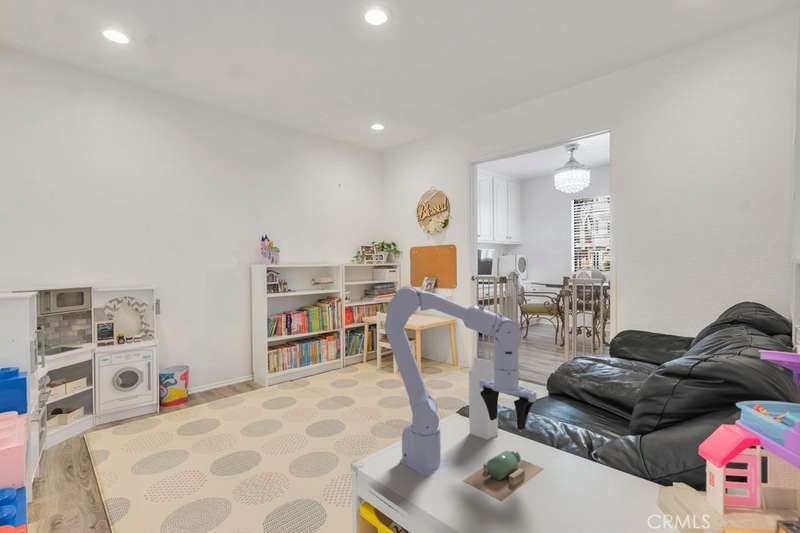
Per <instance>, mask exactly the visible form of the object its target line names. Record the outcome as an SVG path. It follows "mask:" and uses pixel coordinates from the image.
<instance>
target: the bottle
mask: <svg viewBox="0 0 800 533" xmlns="http://www.w3.org/2000/svg"><path fill="white" fill-rule="evenodd" d="M520 459H521V455H520V453H519V452H517V451H516V450H512V451H509V450H504V451H503V452H501V453H499V454H497V455H496V456H494V457H492V458H491V459H489V460H488V463H487V469H488V472H489V474H490V475H491V477H492V478H494V479H495V480H501V479H503V478H504V477H506V476H507V475H509V474H510V473H512V472H513V471H515V470H516V469H517V467H518V463H519V462H520Z"/></svg>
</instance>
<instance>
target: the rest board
mask: <svg viewBox="0 0 800 533" xmlns="http://www.w3.org/2000/svg"><path fill="white" fill-rule="evenodd" d="M488 461H489V460H488ZM488 461H486V462H484V463H483V468H481V469H479V470H477V471H476V472H474V473H473V474H471V475H469V476H468V477H466V478H465V479H463V480H462V481H463V482H464V483H466V484H468V485H470V486H472V487H473V488H476V489H477V490H479V491H481V492H483V493H485V494H487V495H489V496H490V497H492V498H494V499H497V500H499V501H500V502H502V501H504V500H505V499H506V498H508V497H509V496H511V494H513V493H514V492H515V491H517V490H518V489H519V488H520V487H522V486H523V485H525V484H526V483H527V482H528V481H530V480H531V479H532V478H534V477H536V476H537V475H538V474H539V473H540V472H542V471H543V470H544V469H545V468H543V467H541V466H538V465H536V464H534V463H531V462H529V461H527V460H524V459H520V462H519V463H518V467H517V469H516V470H515V471H513V472H512V473H510V474H509V475H507V476H506V477H504V478H503V479H501V480H495V479H494V478H492V477H491V475H490V474H489V472H488V469H487V463H488Z"/></svg>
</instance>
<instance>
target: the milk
mask: <svg viewBox="0 0 800 533" xmlns="http://www.w3.org/2000/svg"><path fill="white" fill-rule="evenodd" d="M482 379H487V380H494V365H493V360H490V359H485V358H479V357H474V358H473V363H472V365H471V366H470V368H469V369H468V404H469V405H468V406H469V412H468V414H469V417H468V418H469V419H468V420H469V424H468V425H469V434H470V435H473V436H475V437H477V438H481V439H484V440H487V441H488V440H490V439H491V438H495V437H497V436H498V435H499V412H498V413H497V419H495V420H493V421H492V420H490V417H489V413H488V409H487V406H486V404H485V402H484V400H483V398H482V396H481V394H480V392H481V391H483V389H482V388H480V380H482ZM498 407H499V404H497V410H498V411H499V409H498Z"/></svg>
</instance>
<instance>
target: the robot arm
mask: <svg viewBox="0 0 800 533" xmlns="http://www.w3.org/2000/svg"><path fill="white" fill-rule="evenodd" d="M419 307H420V312H424V311H428V310H435V311H437V312H441V313H443V314H447V315H449V316H452V317H454V318H456V319H460V320H462V322H463V325H464V326H465V327H466V328H468V329H470V330H472V331H474V332H478V333H480V334H482V335H485V336H487V337H494V340H493V341H494V343H493V344H494V347H493V367H494V380H487V379H482V380H480V388H482V389H483V391H481V392H480V394H481V396H482V398H483V400H484V402H485V404H486V406H487V409H488V413H489V417H490V420H492V421H493V420H495V419H497V413H498V414H499V409H498V410H497V404H498V402H499V396H500V393H501V394H503V395H504V394H505V395H508V396H510V397H511V396H512V397H515V398H518V399H516V400H514V401H513V403H514V404H513V405H514V407H515V408H514V409H515V411H516V427H517V430H518V431H522V430H523V429H525V428H526V422H527V420H528V416H529V414H530V413H529V412H530V411H531V409H532V407H533V405H534V403H535V402H536V401H537V391H534V390H531V389H528V388H526V387H524V386H521V385H519V382H520V380H519V376H520V370H519V368H520V366H519V348H518V346H519V344H518V343H519V341H520V339H521V337H522V331H521V329H520V325H519V324H517V323H516V321H514V320H512V319H510V318H508V317H507V316H504V314H502V313H500V312H498V313H495V312H493V311H490V310H487V309H485V306H483V305H482V304H478V306H477V305H475V304H474V305H471V306H468V307H465V306H463V305H461V304H459V303H456V302H454V301H452V300H449V299H447V298H445V297H443V296H441V295H438V294H436V293H433V292H431V291H428V290H423V289H419V288H418V289H415V288H414V287H412V286H410V285H409V286H406V285H405V286H402V287H400V288H399V289H398V290H397V291H396V292H395V294H394V295H393V297H392V298H391V299H390V301H389V303H388V308H387V312H386V316H385V321H384V325H383V327H384V328H383V329H384V332H385V335H386V338H387V340H388V343H389V346H390V348H391V351H392V355H393V358H394V359H395V362H396V365H397V368H398V370H399V373H400V376H401V379H402V382H403V384H404V387H405V390H406V392H407V397H408V400H409V406H410V410H411V412H412V417H411V418H412V420H411V422H410V423H408V424H407V425H406V426H405V427H404V429H403V430H402V434H401V457H402V458H401V459H399V463H400V464H404V465H406V466H407V467H410V468H412V469H413V470H414V471H417V472H419V473H421V474H422V475H424V476H429V475H431V474H433V473H434V472H436V471H437V470H440V469H441V468H442V469H443V467H446V466H447V465H449V462H447V461H445V460H443V459H442V458H441V456H442V455H441V426H440V419H439V415H438V403H437V402H436V400H435V399H434V398H433V397H432V396H431V395H430V393H429V390H428V388H427V386H426V385H425V381H424V379H423V376H422V374H421V371H420V368H419V364H418V363H417V359H416V357H415V354H414V351H413V348H412V346H411V342H410V340H409V337H408V335H407V332H406V329H405V327H406V325H407V323H408V321H409V319H410V317H412V315H413V314H415V313H416V312H417V310H418V309H419ZM498 405H499V404H498Z"/></svg>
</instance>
